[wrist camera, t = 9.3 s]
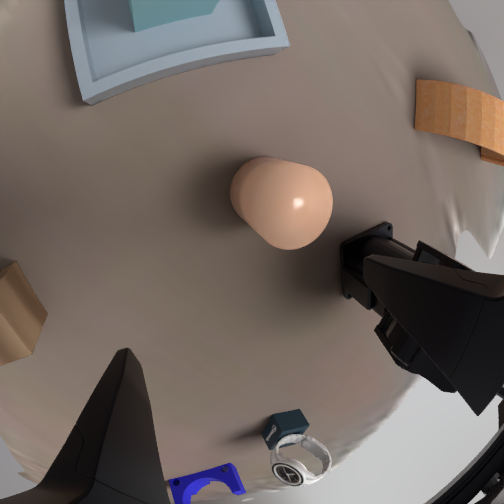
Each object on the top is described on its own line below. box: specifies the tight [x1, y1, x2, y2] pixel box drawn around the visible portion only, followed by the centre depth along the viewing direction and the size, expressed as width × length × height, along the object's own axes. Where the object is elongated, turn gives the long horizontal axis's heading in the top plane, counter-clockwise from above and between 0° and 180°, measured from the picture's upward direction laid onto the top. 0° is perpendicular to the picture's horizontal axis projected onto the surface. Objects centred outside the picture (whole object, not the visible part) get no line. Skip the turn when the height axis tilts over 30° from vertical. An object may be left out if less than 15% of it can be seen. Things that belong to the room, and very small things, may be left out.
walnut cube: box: [0, 261, 48, 366], centre depth 13 cm, size 5×5×5 cm
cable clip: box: [169, 463, 246, 504], centre depth 34 cm, size 12×4×6 cm, turn 106°
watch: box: [262, 409, 332, 486], centre depth 29 cm, size 6×8×11 cm
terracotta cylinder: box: [230, 157, 333, 250], centre depth 18 cm, size 5×5×5 cm
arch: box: [415, 80, 504, 166], centre depth 20 cm, size 6×20×10 cm, turn 86°
